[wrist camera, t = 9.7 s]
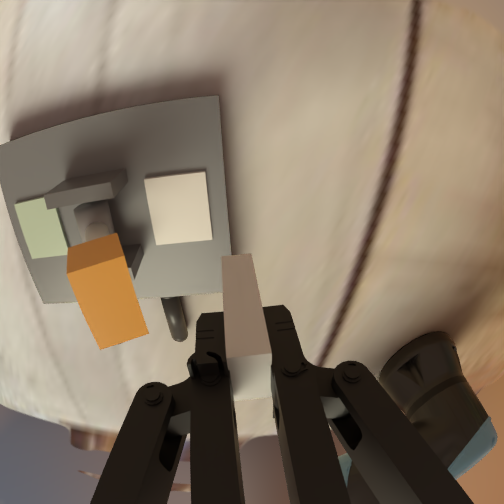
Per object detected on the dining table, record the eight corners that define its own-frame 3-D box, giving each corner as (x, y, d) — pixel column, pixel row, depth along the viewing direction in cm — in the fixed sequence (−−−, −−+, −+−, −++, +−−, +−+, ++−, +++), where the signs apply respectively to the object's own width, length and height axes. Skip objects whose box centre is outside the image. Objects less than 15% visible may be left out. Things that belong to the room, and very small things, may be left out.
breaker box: (218, 95, 23) (218, 95, 17) (238, 328, 36) (243, 374, 30) (9, 141, 22) (-33, 159, 16) (76, 336, 35) (60, 376, 29)
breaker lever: (105, 190, 23) (124, 255, 13) (117, 242, 26) (148, 333, 16) (72, 199, 22) (66, 273, 12) (87, 251, 25) (100, 349, 15)
